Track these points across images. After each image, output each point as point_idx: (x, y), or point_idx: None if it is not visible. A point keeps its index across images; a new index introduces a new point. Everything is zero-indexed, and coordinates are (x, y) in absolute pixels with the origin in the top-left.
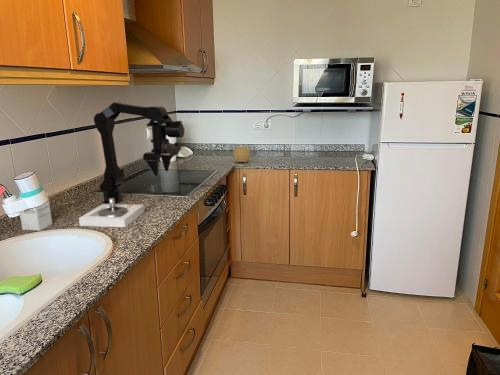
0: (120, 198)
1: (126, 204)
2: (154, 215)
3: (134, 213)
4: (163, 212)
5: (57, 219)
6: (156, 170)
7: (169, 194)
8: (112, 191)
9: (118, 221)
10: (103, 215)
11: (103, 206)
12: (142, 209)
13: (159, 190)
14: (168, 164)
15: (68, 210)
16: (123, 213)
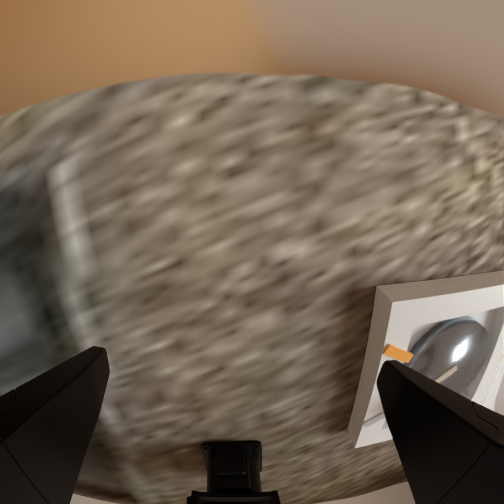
0: (224, 448)
1: (376, 380)
2: (424, 216)
3: (475, 286)
4: (385, 186)
5: None
6: (445, 394)
7: (54, 288)
8: (255, 486)
9: None
10: (480, 367)
11: (388, 430)
12: (407, 291)
13: (26, 355)
14: (56, 395)
15: (333, 487)
16: (476, 323)
